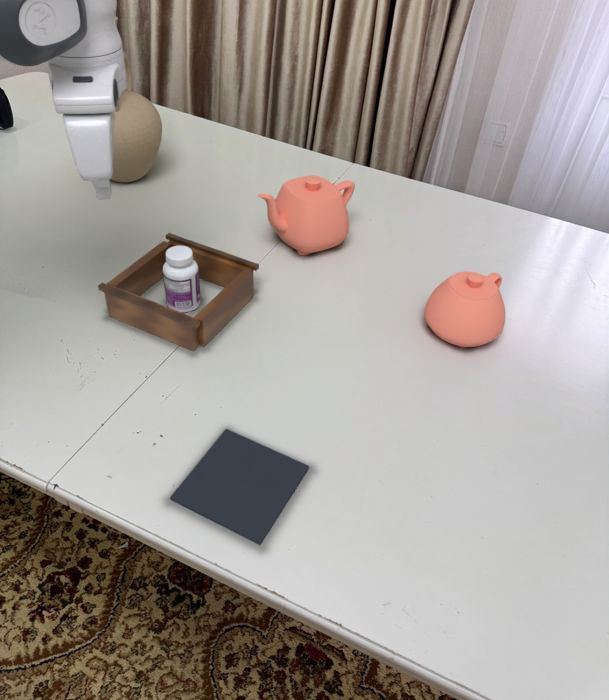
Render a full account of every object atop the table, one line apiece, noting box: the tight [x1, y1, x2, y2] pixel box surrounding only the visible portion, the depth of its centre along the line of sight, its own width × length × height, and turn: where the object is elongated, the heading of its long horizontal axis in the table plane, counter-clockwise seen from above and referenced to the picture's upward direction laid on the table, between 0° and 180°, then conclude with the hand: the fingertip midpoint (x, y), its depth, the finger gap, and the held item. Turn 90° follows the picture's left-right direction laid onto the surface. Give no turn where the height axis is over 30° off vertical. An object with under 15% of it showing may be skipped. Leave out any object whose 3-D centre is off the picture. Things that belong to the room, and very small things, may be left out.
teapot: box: [257, 174, 356, 256], centre depth 111 cm, size 13×20×12 cm, turn 122°
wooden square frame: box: [97, 232, 260, 352], centre depth 97 cm, size 17×18×6 cm
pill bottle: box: [163, 246, 201, 313], centre depth 96 cm, size 5×5×10 cm
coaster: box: [169, 428, 310, 546], centre depth 74 cm, size 12×12×1 cm
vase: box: [110, 16, 163, 183], centre depth 119 cm, size 17×17×30 cm
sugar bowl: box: [423, 270, 506, 349], centre depth 95 cm, size 12×14×10 cm
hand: (106, 179), depth 83 cm, fingers open, 8 cm apart
